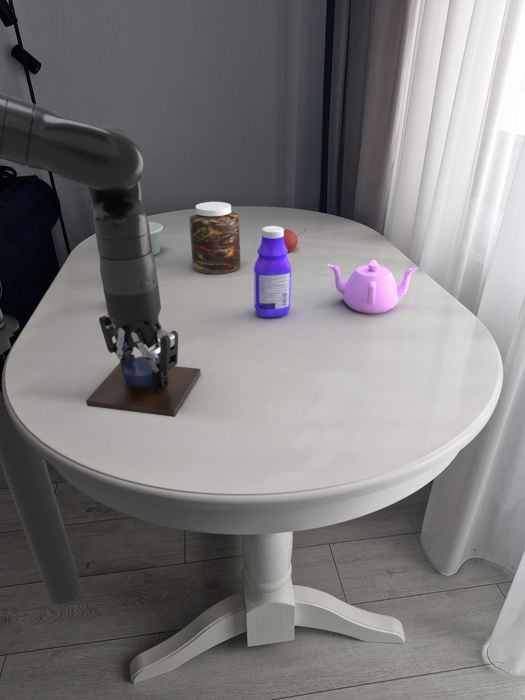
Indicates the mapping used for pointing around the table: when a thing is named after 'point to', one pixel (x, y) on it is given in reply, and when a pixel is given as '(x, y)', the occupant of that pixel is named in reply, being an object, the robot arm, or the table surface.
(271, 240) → the bottle
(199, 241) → the jar
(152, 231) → the food container
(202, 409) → the table surface
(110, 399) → the board
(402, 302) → the table surface
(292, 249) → the fruit
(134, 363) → the lid
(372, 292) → the teapot
